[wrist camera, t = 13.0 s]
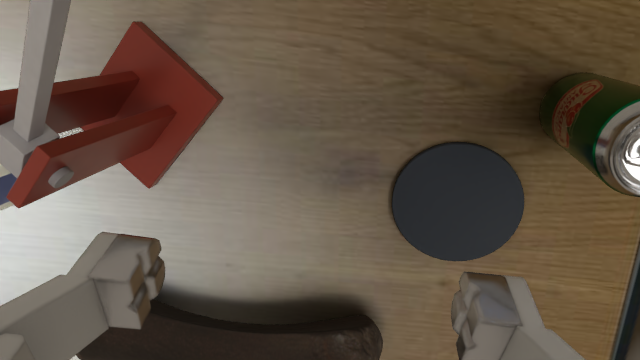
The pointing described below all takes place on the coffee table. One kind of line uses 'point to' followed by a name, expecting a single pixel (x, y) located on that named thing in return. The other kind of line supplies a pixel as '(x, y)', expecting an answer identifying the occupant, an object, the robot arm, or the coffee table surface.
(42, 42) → the lever
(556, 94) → the soda can
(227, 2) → the coffee table surface
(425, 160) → the coaster
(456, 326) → the robot arm
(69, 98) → the bracket
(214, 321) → the dark brown bone
